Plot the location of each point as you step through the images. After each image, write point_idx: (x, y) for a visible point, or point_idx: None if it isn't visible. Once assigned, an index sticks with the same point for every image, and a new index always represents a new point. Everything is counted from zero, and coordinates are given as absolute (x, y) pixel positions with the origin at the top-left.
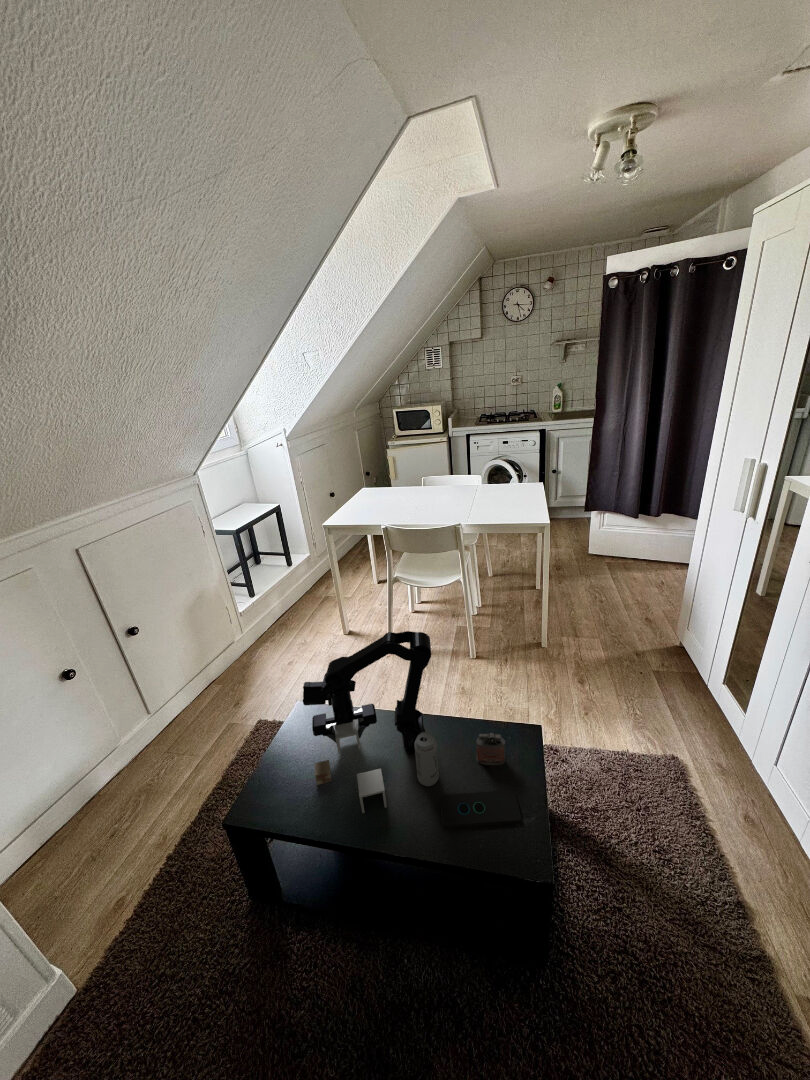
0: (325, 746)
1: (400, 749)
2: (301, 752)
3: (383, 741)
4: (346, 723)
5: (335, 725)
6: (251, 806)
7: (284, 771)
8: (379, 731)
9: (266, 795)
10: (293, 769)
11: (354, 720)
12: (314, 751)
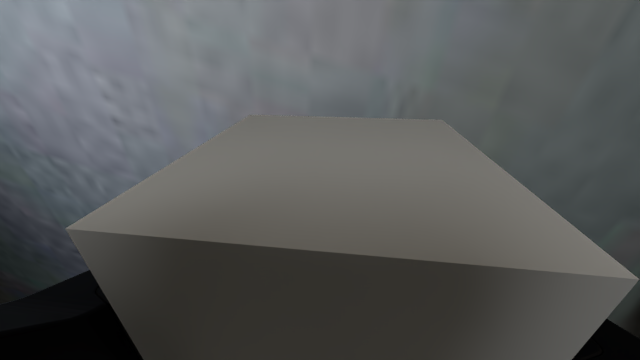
0: (187, 115)
1: (636, 269)
2: (54, 117)
3: (576, 191)
4: (331, 350)
5: (132, 320)
6: (2, 284)
7: (31, 201)
8: (608, 94)
9: (26, 268)
10: (67, 204)
11: (519, 357)
12: (129, 132)
